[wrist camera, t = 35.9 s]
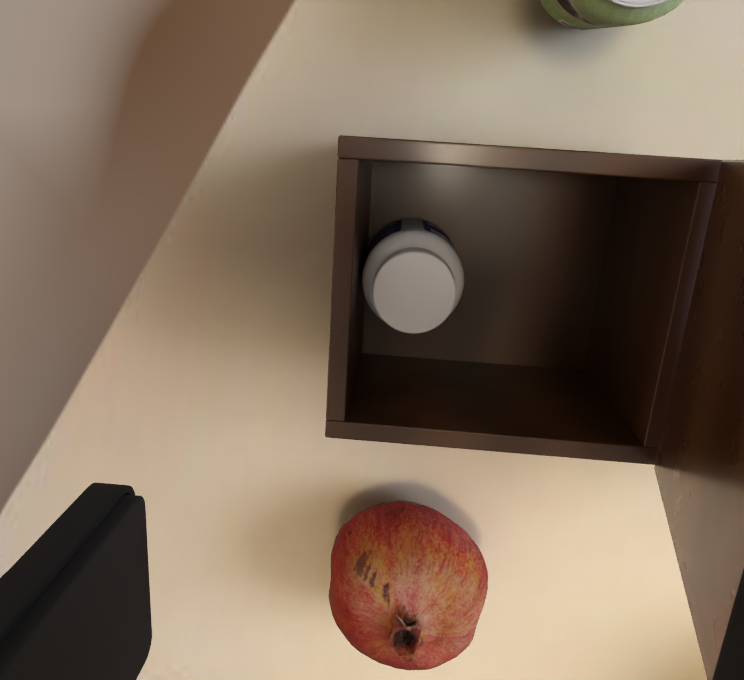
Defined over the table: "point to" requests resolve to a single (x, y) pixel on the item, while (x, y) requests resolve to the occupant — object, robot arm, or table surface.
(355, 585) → the fruit
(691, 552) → the lid
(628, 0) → the beverage can
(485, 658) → the table surface
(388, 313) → the pill bottle
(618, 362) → the chest
